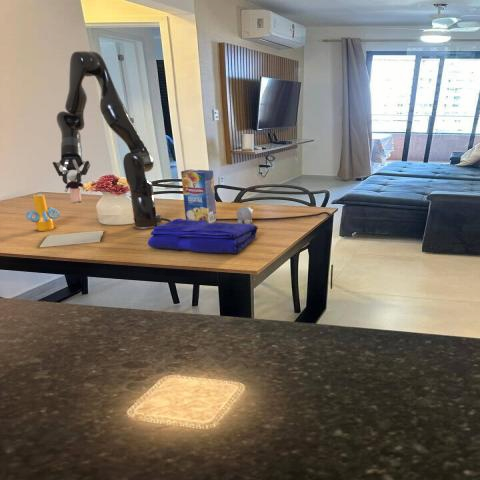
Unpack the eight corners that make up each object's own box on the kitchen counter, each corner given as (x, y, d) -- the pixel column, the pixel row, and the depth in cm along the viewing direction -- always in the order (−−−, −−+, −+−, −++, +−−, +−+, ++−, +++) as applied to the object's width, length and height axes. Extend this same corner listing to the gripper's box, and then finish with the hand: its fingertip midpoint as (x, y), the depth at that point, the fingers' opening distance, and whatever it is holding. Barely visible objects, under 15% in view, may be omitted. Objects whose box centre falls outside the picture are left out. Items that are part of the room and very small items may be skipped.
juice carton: (216, 220, 183) (213, 170, 175) (208, 224, 176) (204, 173, 168) (194, 218, 186) (190, 169, 178) (185, 222, 179) (180, 171, 171)
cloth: (103, 231, 164) (103, 230, 163) (100, 241, 152) (99, 240, 151) (48, 236, 156) (47, 235, 156) (39, 247, 144) (39, 246, 144)
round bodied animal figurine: (259, 220, 186) (259, 203, 183) (249, 227, 175) (248, 208, 172) (245, 218, 187) (245, 202, 184) (234, 225, 176) (233, 207, 173)
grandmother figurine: (70, 205, 160) (64, 174, 155) (66, 203, 161) (59, 173, 157) (89, 201, 166) (83, 172, 162) (84, 200, 168) (79, 171, 163)
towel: (181, 230, 168) (180, 210, 165) (259, 236, 162) (258, 216, 159) (146, 250, 143) (143, 228, 140) (236, 258, 138) (235, 235, 135)
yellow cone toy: (43, 234, 159) (36, 199, 154) (22, 232, 160) (14, 197, 156) (67, 226, 170) (61, 193, 165) (47, 224, 172) (40, 191, 167)
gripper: (49, 144, 160) (49, 178, 153) (88, 143, 165) (89, 176, 158) (54, 156, 166) (54, 188, 159) (92, 155, 171) (93, 186, 165)
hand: (72, 182), depth 159 cm, fingers closed on grandmother figurine, 4 cm apart
